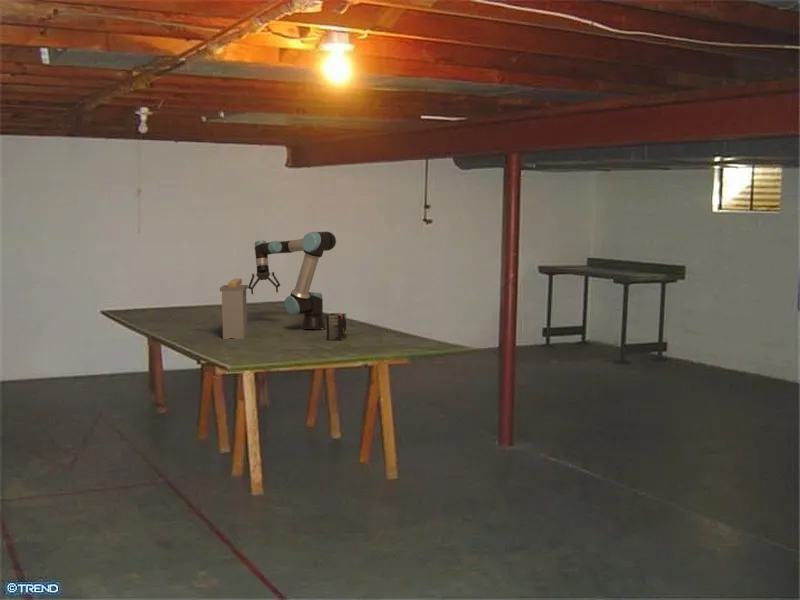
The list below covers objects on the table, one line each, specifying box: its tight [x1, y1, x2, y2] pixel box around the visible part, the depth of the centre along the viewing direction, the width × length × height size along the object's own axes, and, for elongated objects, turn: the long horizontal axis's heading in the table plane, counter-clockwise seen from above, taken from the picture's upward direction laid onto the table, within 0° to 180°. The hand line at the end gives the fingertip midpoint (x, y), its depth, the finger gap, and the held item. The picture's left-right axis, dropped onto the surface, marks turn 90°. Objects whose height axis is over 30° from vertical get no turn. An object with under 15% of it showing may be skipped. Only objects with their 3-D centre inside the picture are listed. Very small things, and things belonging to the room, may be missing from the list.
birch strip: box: [227, 278, 243, 288], centre depth 533 cm, size 28×4×3 cm, turn 3°
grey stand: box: [219, 284, 249, 340], centre depth 529 cm, size 18×14×30 cm
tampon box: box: [325, 312, 347, 341], centre depth 518 cm, size 11×9×15 cm
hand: (265, 298), depth 565 cm, fingers open, 13 cm apart
